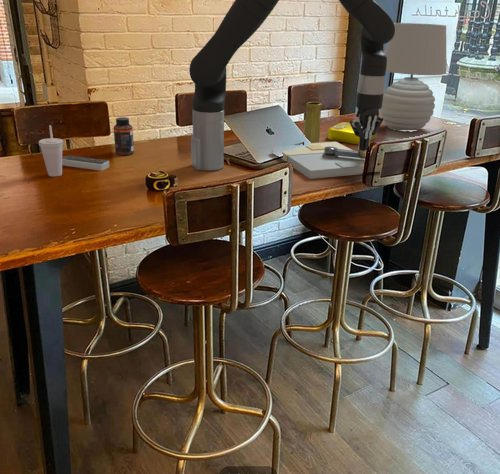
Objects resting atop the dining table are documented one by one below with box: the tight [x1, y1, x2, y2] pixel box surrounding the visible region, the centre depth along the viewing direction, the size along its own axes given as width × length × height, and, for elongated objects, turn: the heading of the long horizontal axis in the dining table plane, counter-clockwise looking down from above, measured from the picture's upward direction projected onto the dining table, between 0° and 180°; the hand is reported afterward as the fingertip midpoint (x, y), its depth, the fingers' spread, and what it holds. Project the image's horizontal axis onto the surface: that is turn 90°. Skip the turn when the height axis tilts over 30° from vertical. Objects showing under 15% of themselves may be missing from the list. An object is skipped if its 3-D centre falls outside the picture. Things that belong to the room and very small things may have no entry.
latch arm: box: [324, 139, 371, 159], centre depth 161 cm, size 14×4×7 cm, turn 73°
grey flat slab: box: [282, 141, 365, 180], centre depth 166 cm, size 24×28×3 cm
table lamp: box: [379, 22, 447, 131], centre depth 205 cm, size 25×25×40 cm
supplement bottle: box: [113, 116, 135, 156], centre depth 167 cm, size 6×6×11 cm
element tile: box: [327, 121, 377, 145], centre depth 197 cm, size 15×15×5 cm
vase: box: [303, 101, 323, 143], centre depth 186 cm, size 6×6×14 cm
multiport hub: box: [62, 154, 110, 171], centre depth 155 cm, size 4×14×2 cm, turn 72°
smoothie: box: [38, 124, 64, 177], centre depth 144 cm, size 6×6×14 cm
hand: (363, 150), depth 157 cm, fingers closed
